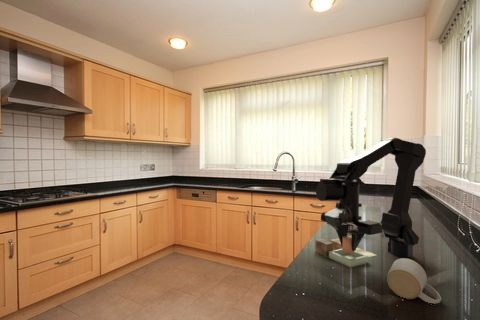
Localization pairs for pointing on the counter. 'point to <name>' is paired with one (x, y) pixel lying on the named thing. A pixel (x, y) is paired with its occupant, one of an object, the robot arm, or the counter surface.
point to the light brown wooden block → (336, 244)
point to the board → (363, 252)
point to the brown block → (323, 247)
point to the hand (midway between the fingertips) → (348, 248)
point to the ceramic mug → (410, 281)
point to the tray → (348, 258)
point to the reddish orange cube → (347, 245)
